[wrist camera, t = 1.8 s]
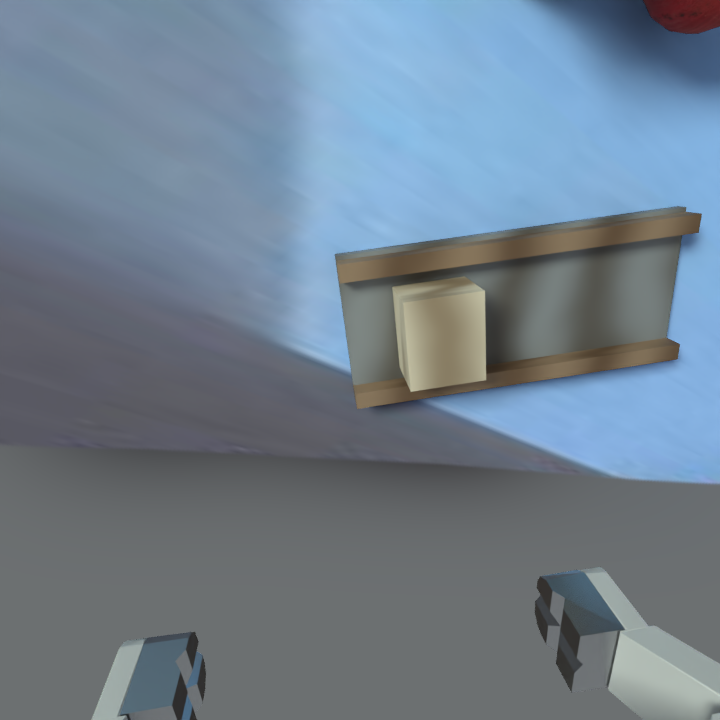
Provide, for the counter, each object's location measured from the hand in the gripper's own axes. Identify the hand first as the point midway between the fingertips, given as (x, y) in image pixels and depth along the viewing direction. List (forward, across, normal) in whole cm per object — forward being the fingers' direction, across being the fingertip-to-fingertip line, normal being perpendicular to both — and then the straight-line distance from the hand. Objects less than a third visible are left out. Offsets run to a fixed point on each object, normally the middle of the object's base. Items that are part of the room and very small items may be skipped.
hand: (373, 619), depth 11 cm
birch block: (+24, -7, 0) cm, 25 cm away
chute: (+23, -13, 0) cm, 27 cm away
